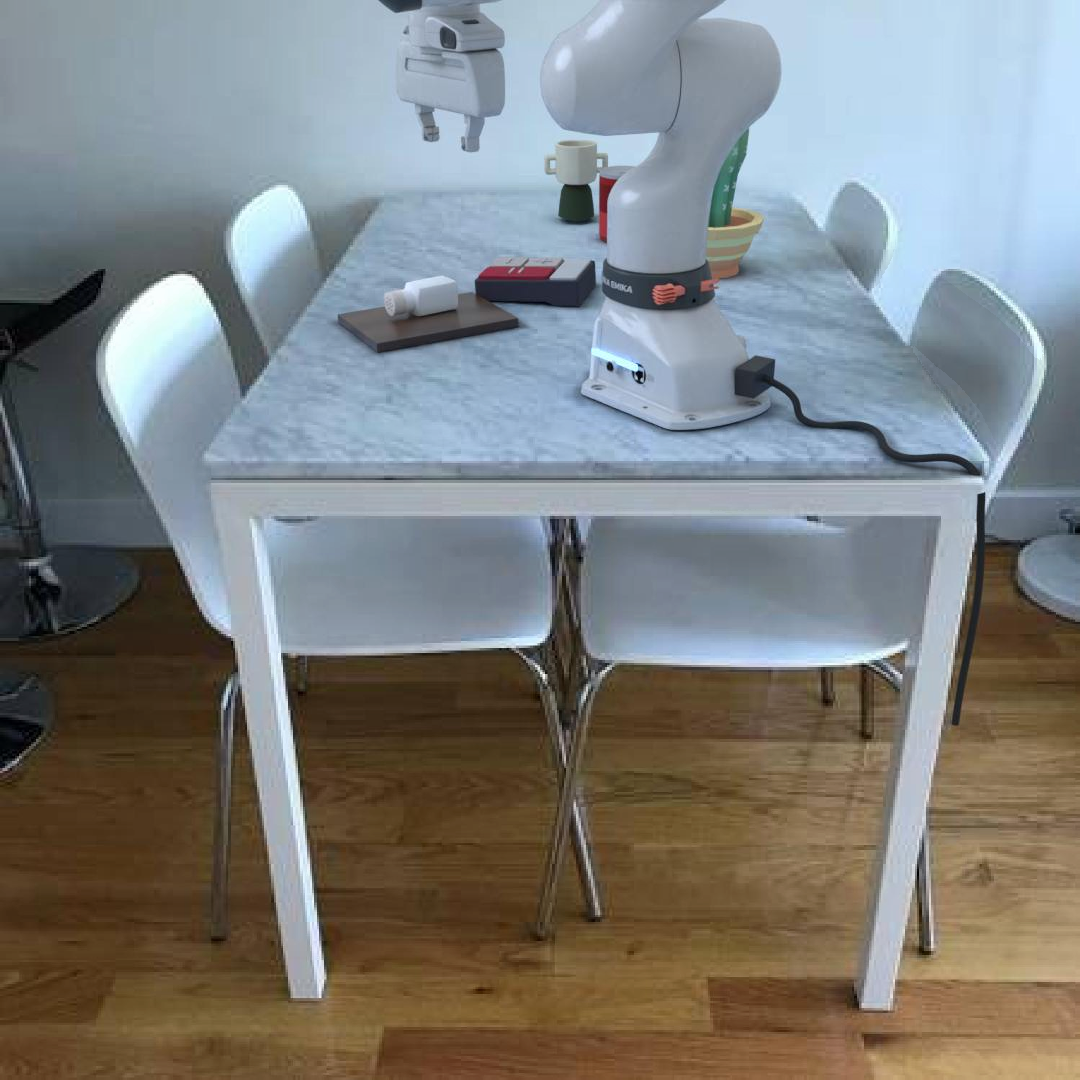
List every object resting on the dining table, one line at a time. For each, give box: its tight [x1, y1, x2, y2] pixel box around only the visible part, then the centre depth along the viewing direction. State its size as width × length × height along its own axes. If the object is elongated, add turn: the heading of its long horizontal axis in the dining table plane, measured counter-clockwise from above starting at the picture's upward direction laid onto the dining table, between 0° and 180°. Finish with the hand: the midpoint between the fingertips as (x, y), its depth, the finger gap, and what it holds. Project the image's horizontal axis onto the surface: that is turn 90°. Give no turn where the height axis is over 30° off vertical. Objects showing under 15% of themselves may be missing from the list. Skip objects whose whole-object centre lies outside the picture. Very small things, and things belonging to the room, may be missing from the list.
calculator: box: [474, 256, 597, 307], centre depth 175 cm, size 11×4×15 cm
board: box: [337, 291, 520, 353], centre depth 163 cm, size 14×20×1 cm
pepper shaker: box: [383, 275, 459, 316], centre depth 164 cm, size 4×4×10 cm
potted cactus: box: [706, 126, 765, 279], centre depth 179 cm, size 15×15×25 cm
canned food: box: [598, 165, 637, 243], centre depth 200 cm, size 8×8×11 cm
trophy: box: [543, 139, 609, 222], centre depth 211 cm, size 11×7×13 cm, turn 95°
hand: (450, 146), depth 157 cm, fingers open, 8 cm apart
